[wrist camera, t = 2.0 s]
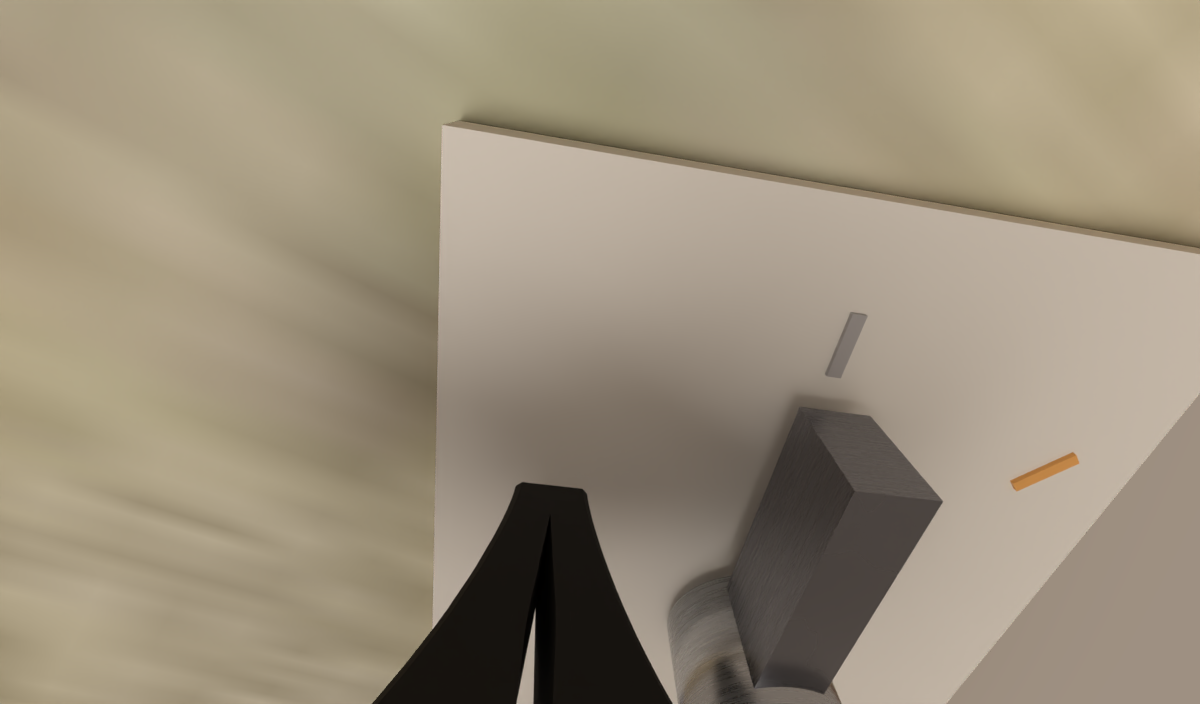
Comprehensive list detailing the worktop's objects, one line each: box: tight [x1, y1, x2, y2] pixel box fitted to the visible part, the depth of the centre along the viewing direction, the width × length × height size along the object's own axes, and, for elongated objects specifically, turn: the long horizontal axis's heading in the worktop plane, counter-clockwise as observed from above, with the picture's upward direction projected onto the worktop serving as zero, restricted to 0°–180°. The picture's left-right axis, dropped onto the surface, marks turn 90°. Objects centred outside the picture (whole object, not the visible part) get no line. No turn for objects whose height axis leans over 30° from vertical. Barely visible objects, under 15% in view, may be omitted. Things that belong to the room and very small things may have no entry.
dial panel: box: [432, 121, 1200, 704], centre depth 14 cm, size 18×16×1 cm
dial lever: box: [667, 407, 943, 704], centre depth 11 cm, size 9×4×3 cm, turn 171°
